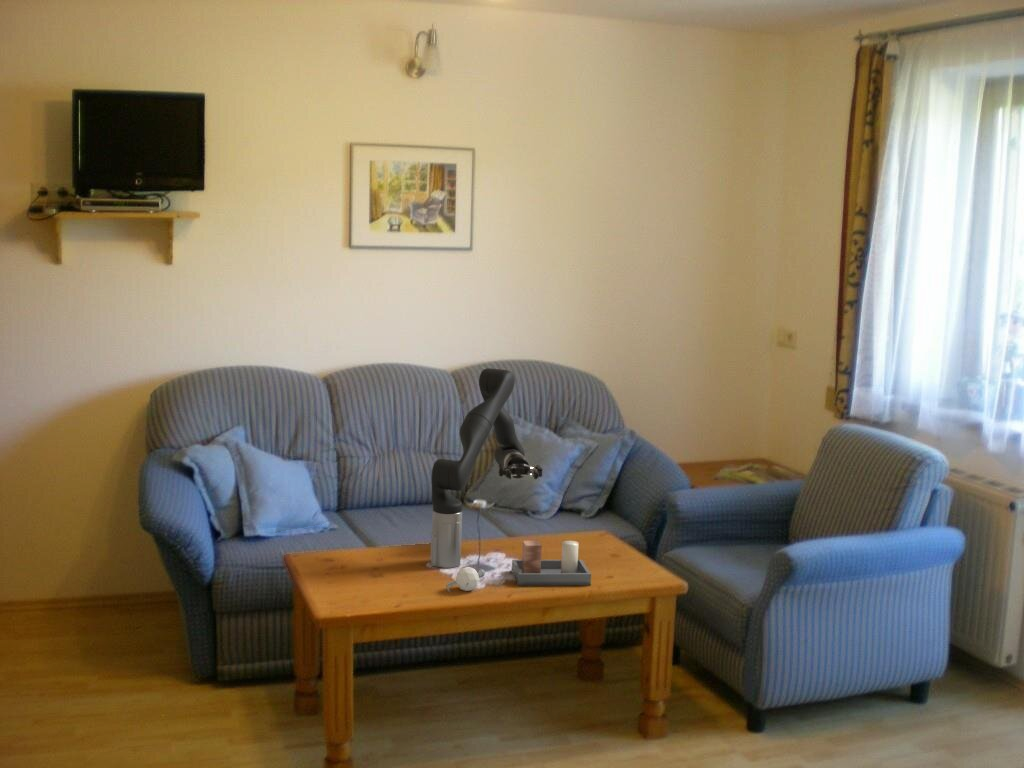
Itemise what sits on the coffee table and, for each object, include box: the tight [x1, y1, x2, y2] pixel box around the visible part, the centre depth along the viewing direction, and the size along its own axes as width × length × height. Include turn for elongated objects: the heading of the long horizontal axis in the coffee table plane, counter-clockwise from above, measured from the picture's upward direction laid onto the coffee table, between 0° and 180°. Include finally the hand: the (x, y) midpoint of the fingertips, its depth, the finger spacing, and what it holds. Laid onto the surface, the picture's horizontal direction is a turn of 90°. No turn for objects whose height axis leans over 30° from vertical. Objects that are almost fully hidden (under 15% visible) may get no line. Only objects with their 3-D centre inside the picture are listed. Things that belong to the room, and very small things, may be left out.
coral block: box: [521, 540, 543, 573], centre depth 335 cm, size 5×5×10 cm
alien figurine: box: [445, 566, 486, 593], centre depth 322 cm, size 7×7×12 cm
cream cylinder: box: [560, 540, 580, 573], centre depth 337 cm, size 5×5×10 cm
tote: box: [511, 559, 592, 587], centre depth 336 cm, size 22×14×4 cm, turn 98°
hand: (523, 476), depth 355 cm, fingers open, 8 cm apart
